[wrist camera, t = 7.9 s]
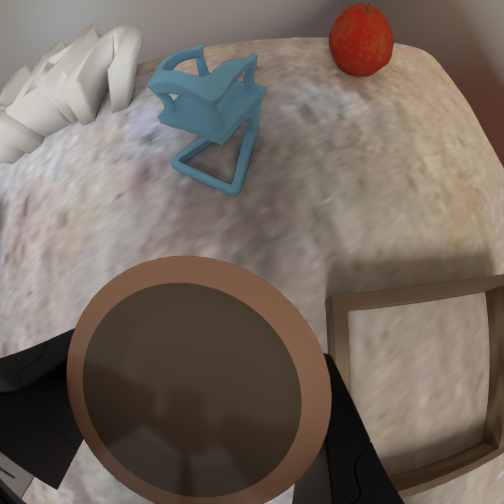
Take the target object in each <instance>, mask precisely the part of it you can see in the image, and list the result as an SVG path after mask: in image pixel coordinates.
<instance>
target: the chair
mask: <svg viewBox="0 0 504 504" xmlns="http://www.w3.org/2000/svg"><path fill="white" fill-rule="evenodd" d="M194 58H196V62H197V67H198V71H199V76H194V75H190V74H187V73H184V72H180V71H175V70H173V69H174V68H175V67H176V66H177V65H178V64H179V63H181V62H183V61H185V60H188V59H194ZM257 58H258V55H257V54H252V55H250V56H248V57H246V58H240V59H233V60H229V61H227V62H225V63H223V64H222V65H221V66H219V67H218V68H217V69H216V70H214V71H213V72H212V73H209V71H208V68H207V65H206V62H205V59H204V56H203V45H199V46H197V47H194V48H192V49H188V50H184V51H179V52H176V53H173V54H171V55H169V56H167V57H166V58H165V59H164V60H163V61H162V62H161V63H160V64H159V66H158V67H157V69H156V70H155V72H154V74H153V76H152V77H151V79H150V81H149V83H148V85H147V86H148V87H149V88H150V89H151V90H152V92H153V93H154V94H155V95H156V96H157V97H158V98H160V99H161V101H162V102H163V103H164V107H165V109H164V110H163V111H162V112H161V113H160V115H159V116H158V119H159V121H160V123H162V124H165V125H168V126H171V127H174V128H178V129H182V130H185V131H188V132H191V133H194V134H196V135H198V136H201V138H199V139H198V140H196V141H195V142H193V143H192V144H191V145H189V146H188V147H186V148H185V149H184V150H182V151H181V152H180V153H179V154H177V155H176V156H175V157H174V158H173V159H172V160H171V162H170V163H171V165H172V167H173V168H174V169H175V170H177V171H179V172H182V173H184V174H186V175H188V176H190V177H192V178H195V179H197V180H199V181H201V182H203V183H205V184H208V185H210V186H212V187H214V188H216V189H218V190H220V191H222V192H224V193H227V194H229V195H231V196H237V195H238V194H239V192H240V190H241V187H242V185H243V181H244V178H245V174H246V171H247V167H248V163H249V159H250V156H251V152H252V149H253V145H254V142H255V139H256V137H257V135H258V132H259V125H258V120H259V112H260V107H261V103H262V100H263V98H264V97H265V96H266V88H265V87H262V86H259V85H255V82H254V74H255V70H256V67H257ZM244 72H246V73H245V76H244V82H242V81H237V79H238V77H239V76H240V75H242V74H243V73H244ZM167 93H168V94H176V95H180V96H178V97H177V98H176V99H175V100H174V101H173V99H172V98H171V97H170V96H169V95H168V94H167ZM245 120H247V130H246V132H245V135H244V139H243V142H242V146H241V150H240V154H239V158H238V162H237V166H236V170H235V175H234V179H233V182H232V184H227V183H225V182H223V181H221V180H218V179H216V178H214V177H212V176H210V175H208V174H206V173H204V172H201V171H199V170H197V169H195V168H193V167H191V166H188V165H186V164H184V163H183V162H185V161H186V160H188V159H189V158H190V157H192V156H193V155H195V154H196V153H198V152H199V151H201V150H202V149H204V148H205V147H207V146H208V145H210V144H211V143H213V142H215V143H217V144H220V145H222V146H223V145H224V144H225V143H226V141H227V140H228V139H229V138H230V136H231V135H232V134H233V133H234V131H235V130H236V128H237V127H238V126H240V125H241V124H242V123H243V122H244V121H245Z"/></svg>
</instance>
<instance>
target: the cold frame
mask: <svg viewBox="0 0 504 504" xmlns="http://www.w3.org/2000/svg"><path fill="white" fill-rule="evenodd" d="M480 292H485V293H486V301H487V310H488V322H489V340H490V378H489V396H488V407H487V416H486V424H485V431H484V437H483V442H482V443H480V444H478V445H476V446H474V447H471V448H469V449H467V450H465V451H463V452H460V453H458V454H456V455H454V456H451V457H449V458H446V459H444V460H441V461H439V462H436V463H433V464H431V465H428V466H425V467H422V468H419V469H416V470H413V471H410V472H406V473H403V474H400V475H396V476H392V477H389V478H390V480H391V482H392V483H393V485H394V487H395V488H396V490H397V492H398V493H399V495H400V497H401V498H405V497H409V496H412V495H415V494H418V493H420V492H423V491H426V490H429V489H431V488H434V487H436V486H439V485H441V484H444V483H446V482H448V481H451V480H453V479H455V478H457V477H460V476H462V475H464V474H466V473H468V472H470V471H472V470H474V469H476V468H478V467H480V466H481V465H483V464H485V463H487V462H489V461H491V460H492V459H494V458H496V457H497V456H499V455H501V454H502V453H504V274H501V275H496V276H490V277H483V278H477V279H470V280H464V281H457V282H450V283H442V284H435V285H427V286H418V287H410V288H401V289H392V290H382V291H372V292H361V293H350V294H338V295H331V296H330V297H329V298H328V299H326V300H325V306H326V321H327V340H328V354H330V355H331V356H332V357H333V360H334V362H335V364H336V366H337V368H338V370H339V372H340V374H341V376H342V379H343V381H344V383H345V385H346V387H347V389H348V391H349V394H350V351H349V331H348V315H347V311H355V310H365V309H374V308H383V307H391V306H399V305H407V304H414V303H421V302H428V301H434V300H441V299H447V298H453V297H459V296H464V295H470V294H475V293H480Z"/></svg>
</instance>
